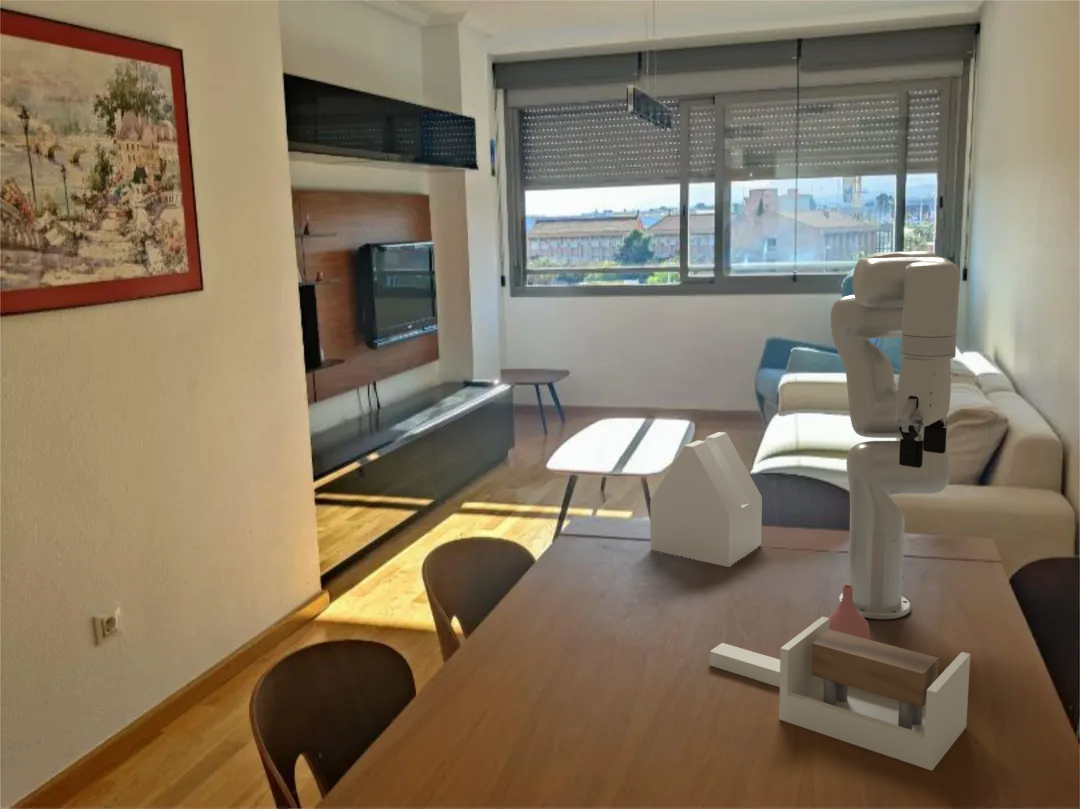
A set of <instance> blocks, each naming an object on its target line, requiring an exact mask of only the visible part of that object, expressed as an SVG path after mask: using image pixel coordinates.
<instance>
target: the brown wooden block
mask: <svg viewBox="0 0 1080 809" xmlns="http://www.w3.org/2000/svg"><path fill="white" fill-rule="evenodd" d="M939 662H940V658H939V657H937V656H934V655H933V656H932V655H929V654H925V653H921V652H917V651H913V650H911V649H910V650H909V649H906V648H903V647H902V648H901V647H898V646H894V645H890V644H887V643H883V642H879V641H875V640H871V639H870V640H868V639H865V638H861V637H857V636H853V635H849V634H846V633H842V632H838V631H834V630H828V631H827V632H826V633H825V634H823V635H822V636H821V637H819V638H818V639H817V640H816V641H814V642H813V643H812V672H811V675H813V676H816V677H820V678H823V679H826V680H830V681H833V682H836V683H840V684H843V685H847V686H850V687H853V688H857V689H860V690H863V691H867V692H870V693H873V694H877V695H880V696H883V697H887V698H890V699H893V700H897V701H900V702H904V703H907V704H910V705H914V706H917V707H920V708H922V707H923V706H924V705H925V704H926V695H927V689H928V688H929V687H930V686H931V685H932V684H933V682H934V681H935V680H936V679H937V678H938V677H939Z"/></svg>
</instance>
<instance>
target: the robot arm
mask: <svg viewBox="0 0 1080 809" xmlns="http://www.w3.org/2000/svg"><path fill="white" fill-rule="evenodd" d="M853 270H854V271H853V273H852V274H853V275H852V281H851V282H852V291H853V294H849V295H845V296H843V297H840V298H838V299H837V300H836V301H835V302H834V303H833V305H832V307H831V310H830V328H831V334H832V335H831V336H832V340H833V343H834V347H835V348H836V350H837V353H838V356H839V358H840V359H841V362H842V364H843V368H844V370H845V375H846V376H845V377H846V386H847V387H846V388H847V398H848V408H849V417H850V421H851V426H852V429H853V431H854V433H855V434H857V435H859V436H860V437H864V438H873V439H890V438H891V439H899V440H870V441H869V440H868V441H863V442H860V443H857V444H855V445H854V446H852V447H851V448H850V449H849V451H848V452H847V455H846V463H845V464H846V472H847V481H848V489H849V490H848V491H849V536H848V537H849V538H848V539H849V540H848V541H849V544H848V545H849V546H848V567H847V569H848V574H847V577H848V578H847V585H851V586H853V595H852V601H853V603H854V605H855V607H856V609H857V611H858V612H859V613H860V614H861V615H862V616H863V617H864V619H865V618H866V619H872V620H892V619H895V620H896V619H899V618H902V617H904V616H907V615H908V614H909V613H910V610H911V603H910V601H909V599H908V598H906V597H904V596H903V594H902V592H903V591H902V590H903V584H904V582H905V577H904V576H903V567H904V566H903V564H904V549H905V548H904V547H905V546H904V544H905V528H906V527H905V522H906V521H905V516H904V513H903V511H902V509H901V508H900V507H899V505H898V504H897V503H896V502H895V501H894V500H893V498H892V497H891V496H892V495H901V494H902V495H903V494H904V495H905V494H906V495H907V494H908V495H912V494H913V495H916V494H917V495H922V494H923V495H924V494H925V495H927V494H928V495H929V494H937V493H940V492H943V491H944V490H945V489H946V488H947V487H948V484H949V482H950V477H951V476H950V475H951V474H950V472H951V471H950V470H951V469H950V467H951V466H950V460H949V451H948V444H947V429H948V428H947V427H948V417H947V416H948V413H949V410H950V404H951V390H952V389H951V388H952V385H951V383H952V378H951V376H952V374H951V373H952V371H951V369H952V368H951V359H954V358H956V354H957V353H956V352H957V351H956V349H957V334H958V319H959V318H958V316H959V314H958V313H959V298H960V297H959V296H960V281H961V279H960V278H961V275H960V274H961V271H960V268H959V266H958V265H957V264H956V263H954V262H952V261H951V260H950V259H948V258H946V257H940V256H938V255H937V254H935V253H934V252H931V251H928V250H927V251H924V250H921V251H920V250H918V251H917V250H915V251H914V250H913V251H879V252H875V253H873V254H870V255H867V257H860V259H859V260H858V261H857V262H856V265H855V266H854V269H853ZM870 339H901V340H900V341H901V342H900V343H901V344H900V357H902V360H901V364H900V370H899V376H898V384H896V382H895V376H894V374H895V373H894V367H893V364H892V362H891V360H890V358H888V356H887V355H886V354H885V353H884V352H883V351H882V350H881V349H880V348H879V347H878V346H876V345H875V344H874V343H873V342H872V341H870ZM842 600H843V592H842V593H841V594H840V595H839V597H838V604H839V605H840V603H841V601H842ZM839 605H838V606H839Z"/></svg>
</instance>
